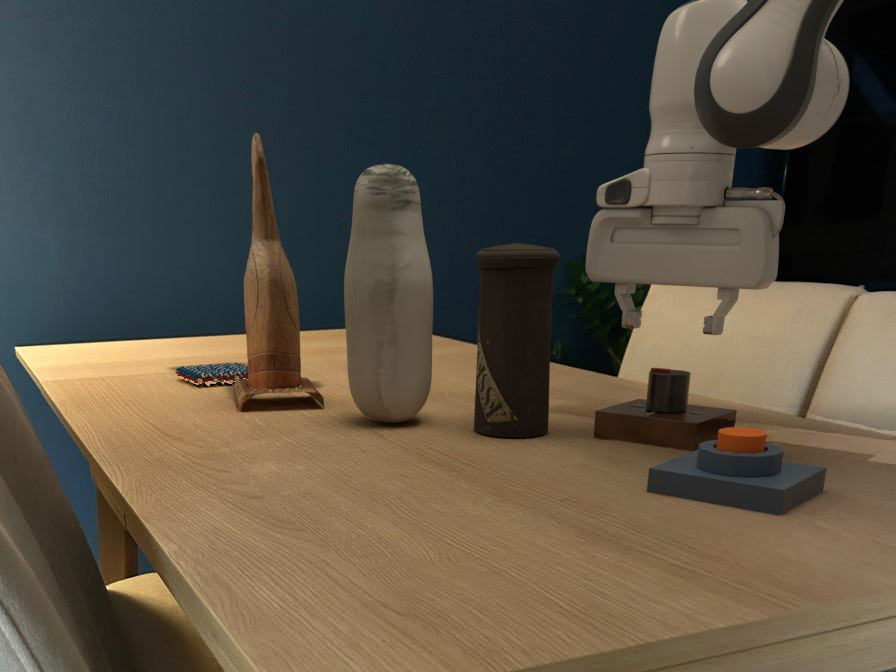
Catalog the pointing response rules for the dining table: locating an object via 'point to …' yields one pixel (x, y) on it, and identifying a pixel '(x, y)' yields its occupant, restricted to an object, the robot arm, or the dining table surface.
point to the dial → (667, 390)
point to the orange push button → (741, 440)
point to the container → (514, 340)
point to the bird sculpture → (270, 302)
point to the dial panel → (662, 425)
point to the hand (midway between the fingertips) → (670, 331)
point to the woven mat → (214, 372)
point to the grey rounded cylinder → (388, 297)
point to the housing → (738, 479)
